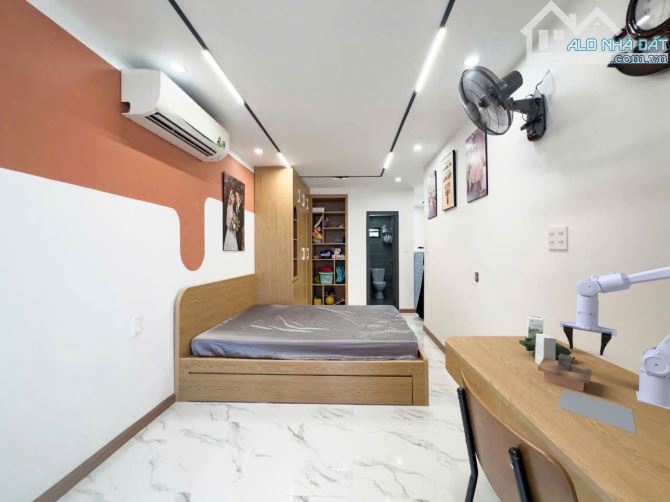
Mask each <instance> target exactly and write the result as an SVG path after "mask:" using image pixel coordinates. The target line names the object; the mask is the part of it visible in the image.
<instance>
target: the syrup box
mask: <svg viewBox="0 0 670 502" xmlns="http://www.w3.org/2000/svg"><path fill="white" fill-rule="evenodd" d="M536 333H537V334H538V333H541V334H544V319H543V317H542V316H534V315H527V318H526V338H534V337H535V336H536Z"/></svg>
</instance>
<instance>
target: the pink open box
mask: <svg viewBox="0 0 670 502" xmlns="http://www.w3.org/2000/svg"><path fill="white" fill-rule="evenodd" d="M543 381H544V382H547V383H552V384H554V385H558V386H561V387H564V388H569V389H573V390H575V391H579V392H582V393H583V392H584V388H585V384H586V383H583V382H580V381H576V380H572V379H569V378H565V377H561V376H558V375H554V374H550V373H547V372H543Z"/></svg>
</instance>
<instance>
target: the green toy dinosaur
mask: <svg viewBox="0 0 670 502" xmlns="http://www.w3.org/2000/svg"><path fill="white" fill-rule="evenodd" d="M538 334H541V333H538ZM518 343H519V344H520V345H521V346H523V347H525V351H526V352H530V353H529V354H530V355H532V357H534V358H535V353H536V336H535V337H534V338H527V337H524V340H523V339H519V340H518ZM560 354H565V355H569V356H571V354H572V352H571V350H570V349H569V348H567V347H565V346H564V345H562V344H561V343H559V342H556V345H555V360H556V359H558V357H559V355H560ZM575 359H576V357H575V356H571V363H572V362H575Z"/></svg>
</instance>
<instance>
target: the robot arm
mask: <svg viewBox="0 0 670 502" xmlns="http://www.w3.org/2000/svg"><path fill="white" fill-rule="evenodd" d="M663 280H670V266H665V267H659V268H656V269H651V270H645V271H641V272H640V271H639V272H636V273H631V274H626V273H623V272H620V271H619V272H616V271H611V272H609V274H605V275H600V276H596V275H594V276H591V277H590V278H583V279H581V280H578V281H577V282H576V284H575V286H574V289H575V292H577V293H576V303H575V304H576V305H575V307H576V308H575V322H573V321H563V320H559V328H562V331H563V333H564V334H565V337H566V338H567V341H568V345H569V350H573V349H574V330H578V331H584V332H585V331H586V332H591V333H597V334H600V349H599V356H601V357H602V356H603V355H604V352H605V350H606V349H605V348H606V347H607V345H608V344H609V343H610V341H611V339H612V338H613V337H617V329H614V328H609V327H603V326H599V308H600V307H599V304H600V301H599V293H601V294H608V293H613V292H621V291H625V290H629V289H630V288H631V286H632V285H637V284H642V283H643V284H644V283H649V282H655V281H663ZM640 365H641V366H639V370H638V371H639V372H638V373H639V375H638V377H639V378H638V391H637V390H636V391H635V393H636V399H637V401H638V402H642V403H644V404H645V403H646V404H648V405H652V406H656V407H659V408H663V409H666V410H670V332H669V333H668V335H666V336H665V338H664V339H662V340H661V341H660V342H658V344H657V345H655V346H652V347H650V348H647V349H645V351H644V352H643V354H642V356H641V358H640Z"/></svg>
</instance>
